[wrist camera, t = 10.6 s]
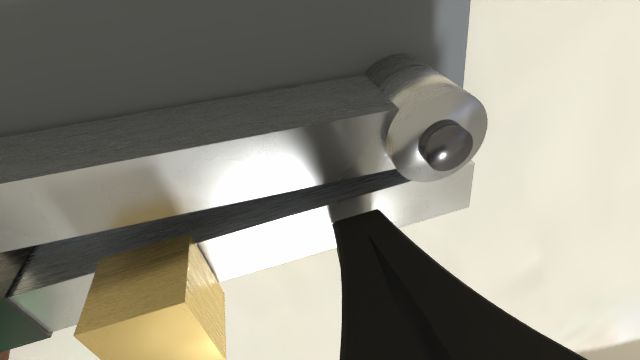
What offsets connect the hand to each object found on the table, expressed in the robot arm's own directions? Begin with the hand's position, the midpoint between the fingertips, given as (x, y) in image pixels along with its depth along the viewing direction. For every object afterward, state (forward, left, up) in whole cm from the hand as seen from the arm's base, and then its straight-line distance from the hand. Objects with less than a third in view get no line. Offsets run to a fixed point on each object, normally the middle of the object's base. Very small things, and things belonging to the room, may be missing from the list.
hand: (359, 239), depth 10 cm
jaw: (+4, -3, -3) cm, 6 cm away
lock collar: (+6, 0, -1) cm, 6 cm away
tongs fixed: (+4, 0, -3) cm, 5 cm away
